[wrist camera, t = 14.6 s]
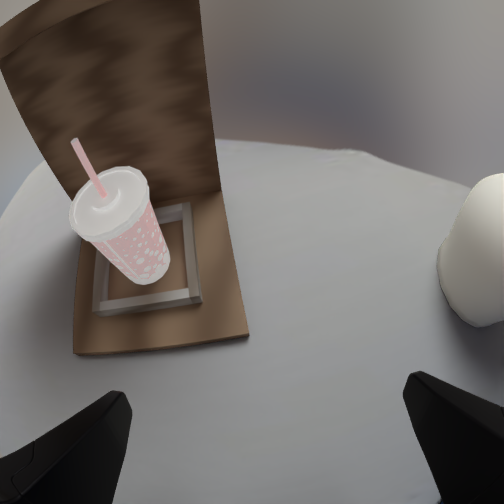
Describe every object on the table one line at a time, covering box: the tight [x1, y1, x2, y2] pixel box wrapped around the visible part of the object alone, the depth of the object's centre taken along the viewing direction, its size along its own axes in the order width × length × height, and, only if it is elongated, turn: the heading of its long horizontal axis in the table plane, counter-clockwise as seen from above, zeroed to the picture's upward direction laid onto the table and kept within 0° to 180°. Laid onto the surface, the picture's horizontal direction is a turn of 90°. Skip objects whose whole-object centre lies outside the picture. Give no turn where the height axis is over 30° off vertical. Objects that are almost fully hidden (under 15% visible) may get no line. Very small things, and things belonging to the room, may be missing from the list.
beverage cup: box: [69, 138, 170, 285], centre depth 18 cm, size 6×6×14 cm
